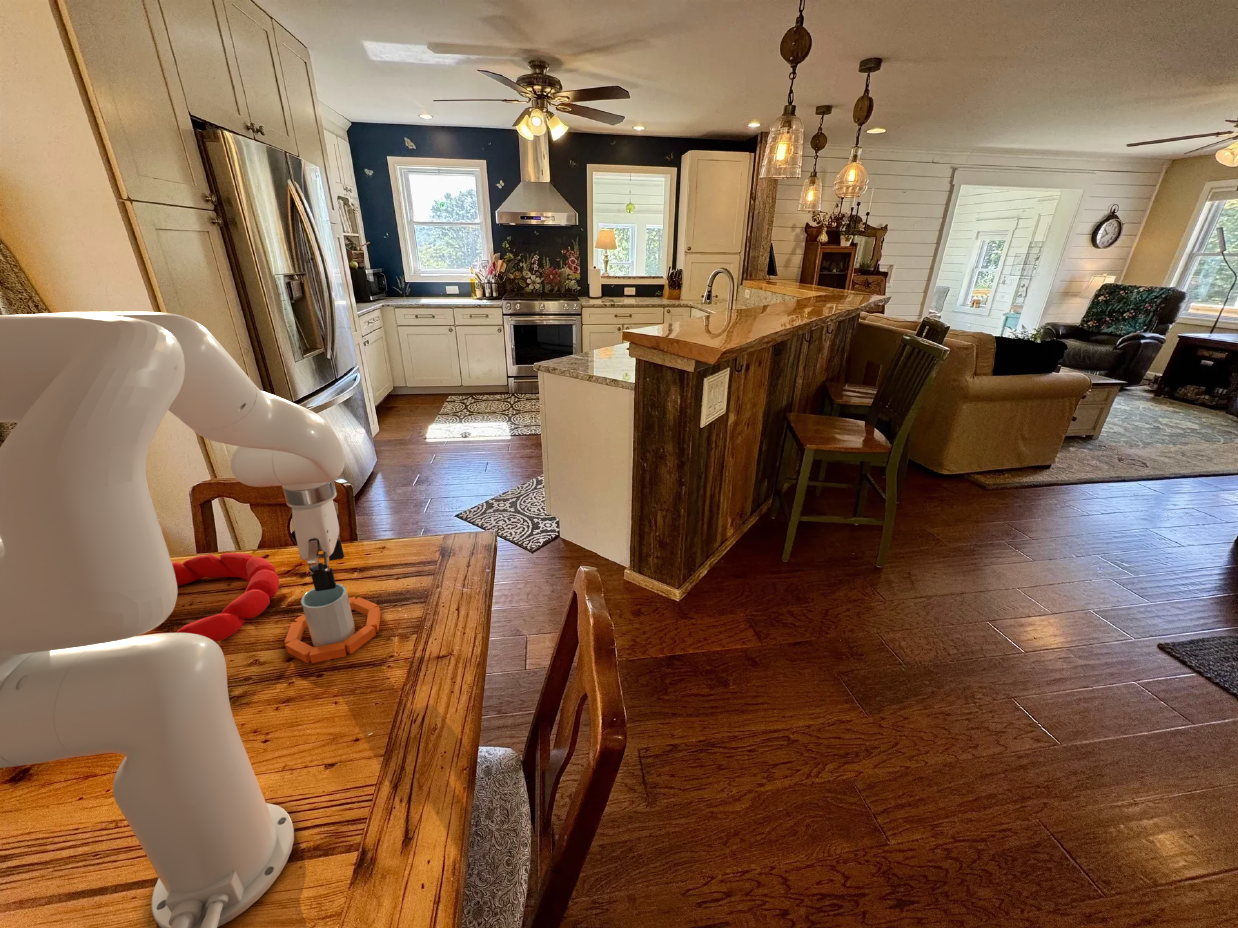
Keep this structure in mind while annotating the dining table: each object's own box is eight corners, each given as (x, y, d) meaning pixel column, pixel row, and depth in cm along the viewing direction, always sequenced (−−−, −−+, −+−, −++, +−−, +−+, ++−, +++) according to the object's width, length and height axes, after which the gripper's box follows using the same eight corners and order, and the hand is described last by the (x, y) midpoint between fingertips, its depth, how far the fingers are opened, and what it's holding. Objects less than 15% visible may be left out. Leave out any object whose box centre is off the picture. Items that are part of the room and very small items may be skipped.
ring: (375, 650, 86) (374, 641, 85) (279, 670, 81) (276, 661, 81) (382, 599, 99) (381, 591, 98) (299, 614, 94) (297, 606, 93)
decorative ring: (271, 534, 111) (80, 568, 94) (283, 606, 89) (36, 667, 71) (276, 562, 114) (91, 600, 96) (288, 638, 91) (50, 705, 74)
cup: (352, 644, 87) (342, 603, 84) (308, 653, 85) (296, 611, 82) (357, 619, 93) (348, 580, 90) (316, 627, 91) (305, 587, 87)
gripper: (297, 473, 91) (317, 552, 98) (271, 517, 76) (296, 606, 83) (342, 469, 93) (358, 545, 100) (325, 511, 78) (346, 598, 85)
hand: (330, 573), depth 92 cm, fingers open, 9 cm apart
